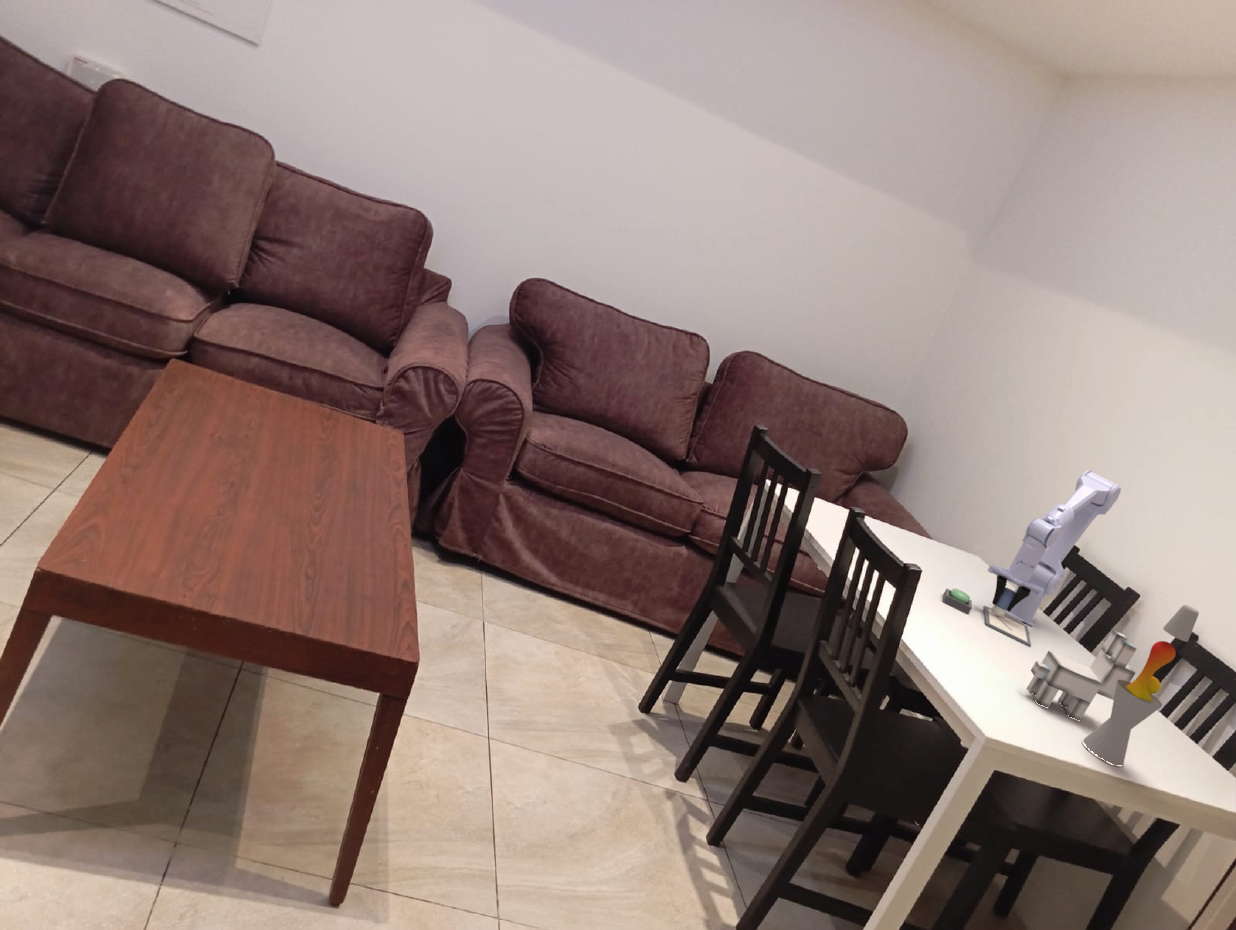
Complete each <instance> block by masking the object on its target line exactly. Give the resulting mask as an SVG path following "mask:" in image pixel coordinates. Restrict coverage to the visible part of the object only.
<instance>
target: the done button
mask: <svg viewBox="0 0 1236 930" xmlns="http://www.w3.org/2000/svg"><path fill="white" fill-rule="evenodd" d="M949 596H950V597H952V598H954V599H956V600H958V601H960V602H962V603H964V604H966V605H967V603H968V601H969V599H970V600H971V597H970V595H969V594H968V593H966V592H964V591H962V590H961V589H958V588H952V590H951V593H950V595H949Z"/></svg>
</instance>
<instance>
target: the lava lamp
mask: <svg viewBox="0 0 1236 930" xmlns="http://www.w3.org/2000/svg"><path fill="white" fill-rule="evenodd" d="M1199 615H1200V614H1199V610H1197V609H1196V608H1194V607H1192V606H1190V605H1188V604H1183V605H1182V606H1181V607H1180V608H1179V609H1178V610H1177V611H1176V613H1175V614H1174V615H1173V616H1172V617H1171V618H1170V619H1169V621H1167V623H1166V624H1165V625H1164V626H1163V628H1162V629H1163V631H1164V632H1165V633H1167V634H1169V635H1171V636H1172V637H1174V638H1176V639H1177V640H1180V641H1183V642H1189V639H1190V637H1191V635H1192V632H1193V629H1194V627H1195V625H1196V622H1197V620H1198V618H1199ZM1176 654H1177V652H1176V649H1175V647H1174V646H1173V644H1172V643H1170V642H1168V641H1165V640H1159V641H1156V642H1155V643H1153V645H1152V646H1151V648H1150V652H1149V654H1148V658H1147V659H1146V660H1147V661H1146V663H1145V664H1144V666H1143V668H1142V670H1141V672H1140V673H1139V675H1138V676H1137V677H1136V678H1135V679H1134V680H1132V682H1131V681H1130V682H1128V681H1125V680H1117V684H1116V690H1115V695H1114V700H1113V703H1112V707H1111V714H1110V717H1109V718H1108V719H1107V720H1105V721H1104V722H1103V723H1102V724H1100V725H1099V726H1097V728H1095V729H1094V730H1093V731H1092V732H1090V734H1088V735H1087V736H1086V737H1085V738H1083V739H1084V740H1083V739H1082V740H1083V741H1084V743H1085V744H1086V746H1087V748H1089V749H1090V751H1093V752H1094V754H1097V755H1098V757H1100V758H1103V759H1104V760H1105V761H1108V762H1110V763H1112V764H1114V765H1123V766H1124V763H1125V759H1126V755H1127V750H1128V745H1129V740H1130V736H1131V731H1132V729H1134V728H1135V727H1136V726H1137V725H1140V723H1142V722H1143V721H1145V720H1146V719H1147V718H1149V717H1150V716H1151V715H1153V714H1154V713H1155V712H1156V711H1158V710H1159V709H1160V708H1162V706H1163V704H1162V702H1161V701H1160V700H1159V699H1158V698H1157V697H1156V696H1155V694H1156V693H1158V692H1160V690H1161V683H1160V681H1159V679H1158V678H1157V677H1155V676H1154V674H1155V673H1156V671H1158V670H1159V669H1160V668H1161V667H1163V666H1165V665H1167V664H1169V663H1171V662H1172V661H1173V660H1174V659H1175V657H1176Z"/></svg>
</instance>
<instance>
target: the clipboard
mask: <svg viewBox="0 0 1236 930" xmlns="http://www.w3.org/2000/svg"><path fill="white" fill-rule="evenodd" d="M991 610H992V607H989V606H986V605H984V606H983V615H984V616H983V617H984V619H983V620H984V626H986V627H988V628H990V629H992V630H995V631H996V632H999V633H1001V634H1002V635H1004V636H1006V637H1008V636H1009V637H1008V638H1011V639H1013V640H1014V639H1015V640H1014V641H1017V642H1018V643H1021V644H1023V645H1025V646H1026V647H1028V648H1031V647H1032V642H1031V637H1030V634H1029V629H1028V628H1029V627H1028V625H1026V624H1023V621H1022V619H1020V618H1017V617H1015V616H1013V615H1011V614H1009V613H1007V612H1006V613H1005V615H1004V616H1003V617H1002V616H999V615H997V614H995V613H993V612H992V611H991Z"/></svg>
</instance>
